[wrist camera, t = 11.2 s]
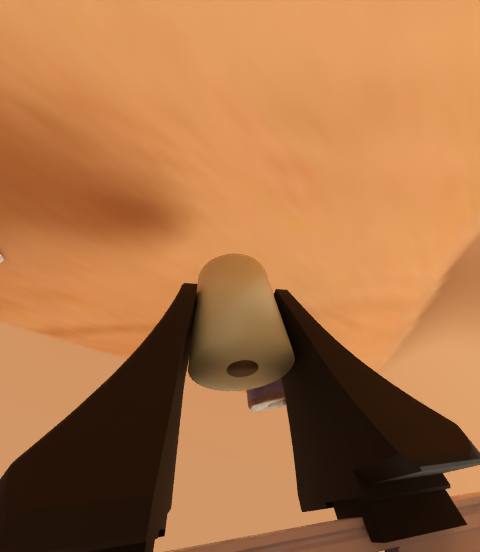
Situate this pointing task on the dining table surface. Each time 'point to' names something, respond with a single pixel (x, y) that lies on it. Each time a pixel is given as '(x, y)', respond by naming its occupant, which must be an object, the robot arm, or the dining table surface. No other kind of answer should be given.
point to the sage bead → (237, 327)
